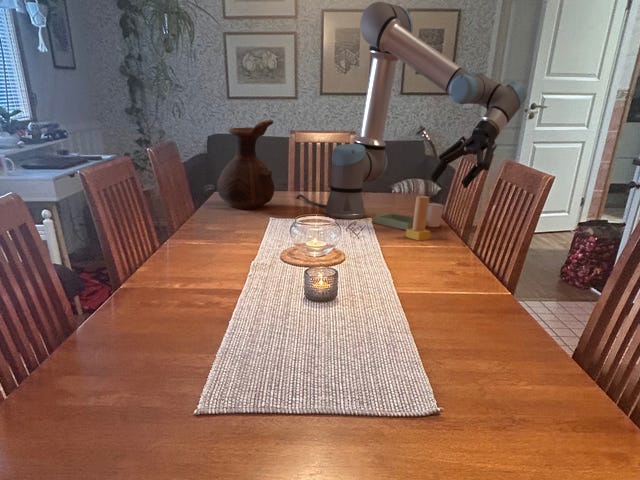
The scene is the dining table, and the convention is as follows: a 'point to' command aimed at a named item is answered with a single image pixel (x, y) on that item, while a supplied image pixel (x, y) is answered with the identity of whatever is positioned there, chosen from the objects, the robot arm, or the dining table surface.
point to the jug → (246, 172)
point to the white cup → (434, 214)
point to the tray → (395, 221)
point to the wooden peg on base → (419, 220)
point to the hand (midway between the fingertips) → (447, 182)
